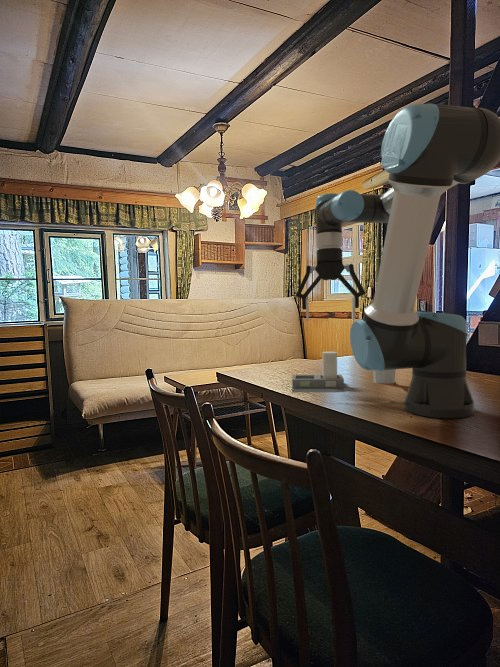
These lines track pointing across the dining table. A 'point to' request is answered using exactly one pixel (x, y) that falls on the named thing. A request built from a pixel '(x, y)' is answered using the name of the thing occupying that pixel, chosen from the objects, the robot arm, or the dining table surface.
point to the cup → (384, 376)
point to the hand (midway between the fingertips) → (330, 320)
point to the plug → (330, 365)
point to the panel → (317, 384)
